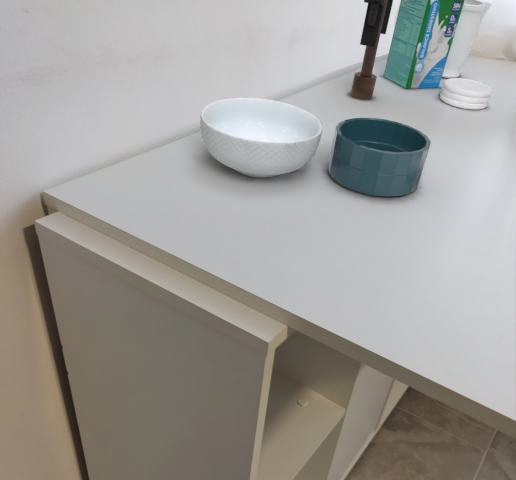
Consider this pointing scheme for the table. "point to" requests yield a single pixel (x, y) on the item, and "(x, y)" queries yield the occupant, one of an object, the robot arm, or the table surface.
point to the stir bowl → (378, 156)
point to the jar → (463, 37)
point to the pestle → (367, 69)
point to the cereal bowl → (259, 135)
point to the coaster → (465, 93)
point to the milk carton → (422, 42)
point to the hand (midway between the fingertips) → (373, 39)
